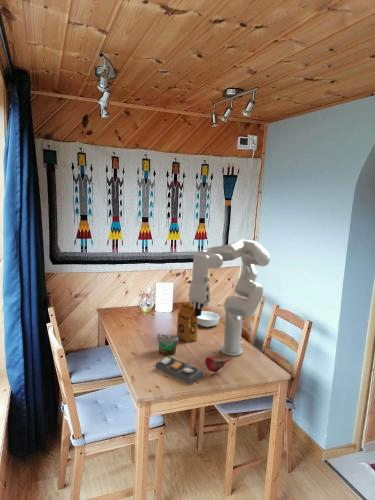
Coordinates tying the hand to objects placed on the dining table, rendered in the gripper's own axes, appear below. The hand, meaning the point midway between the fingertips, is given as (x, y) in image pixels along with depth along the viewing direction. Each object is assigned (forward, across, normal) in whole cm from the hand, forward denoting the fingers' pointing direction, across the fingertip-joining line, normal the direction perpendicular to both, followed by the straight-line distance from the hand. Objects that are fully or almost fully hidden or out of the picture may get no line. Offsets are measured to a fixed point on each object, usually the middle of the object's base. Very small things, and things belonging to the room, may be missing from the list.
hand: (197, 315), depth 184 cm
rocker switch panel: (+27, +2, +10) cm, 29 cm away
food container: (+27, +21, -1) cm, 34 cm away
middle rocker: (+23, +2, +12) cm, 26 cm away
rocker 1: (+23, +9, +12) cm, 28 cm away
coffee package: (+27, +26, -26) cm, 46 cm away
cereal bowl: (+27, +32, -54) cm, 68 cm away
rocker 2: (+23, -5, +12) cm, 27 cm away
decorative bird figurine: (+27, -12, -2) cm, 30 cm away
